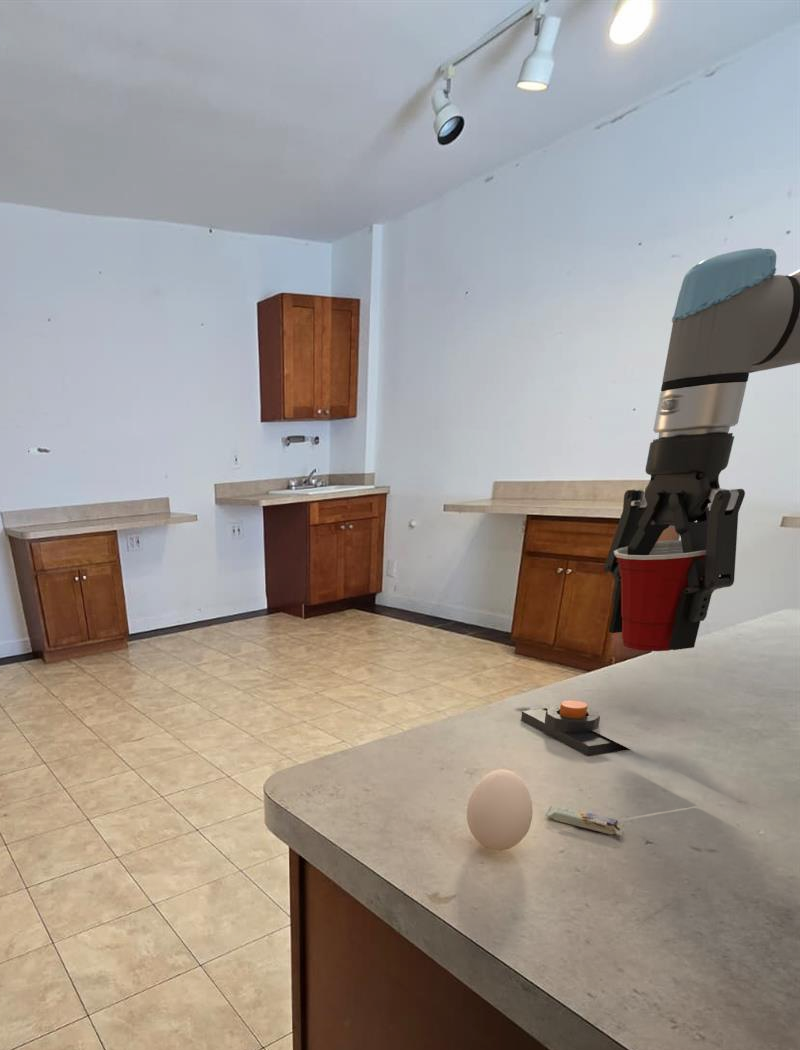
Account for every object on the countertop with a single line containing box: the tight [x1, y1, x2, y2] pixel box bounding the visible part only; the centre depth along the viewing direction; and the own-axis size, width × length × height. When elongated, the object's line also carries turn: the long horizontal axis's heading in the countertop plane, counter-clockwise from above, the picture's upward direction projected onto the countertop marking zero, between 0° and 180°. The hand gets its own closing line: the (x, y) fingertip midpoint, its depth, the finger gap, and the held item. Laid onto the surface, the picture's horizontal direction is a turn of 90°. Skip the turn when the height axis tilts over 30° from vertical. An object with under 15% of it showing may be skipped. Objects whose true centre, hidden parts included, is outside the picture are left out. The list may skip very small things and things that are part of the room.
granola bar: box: [545, 805, 626, 836], centre depth 62 cm, size 7×2×1 cm, turn 49°
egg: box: [466, 768, 534, 852], centre depth 58 cm, size 6×6×8 cm
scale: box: [520, 705, 632, 757], centre depth 82 cm, size 18×13×3 cm
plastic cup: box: [614, 539, 706, 652], centre depth 76 cm, size 11×11×12 cm
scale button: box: [559, 700, 589, 718], centre depth 80 cm, size 3×3×2 cm
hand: (648, 639), depth 78 cm, fingers closed on plastic cup, 9 cm apart
